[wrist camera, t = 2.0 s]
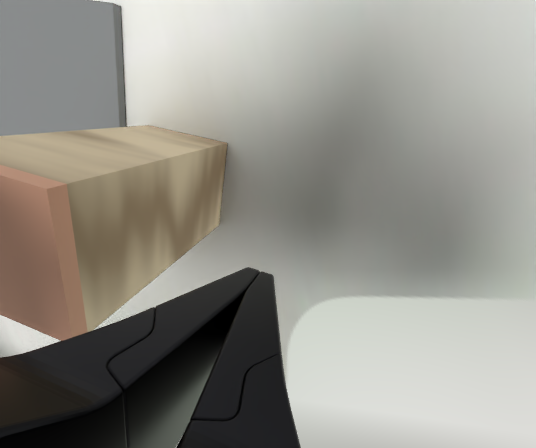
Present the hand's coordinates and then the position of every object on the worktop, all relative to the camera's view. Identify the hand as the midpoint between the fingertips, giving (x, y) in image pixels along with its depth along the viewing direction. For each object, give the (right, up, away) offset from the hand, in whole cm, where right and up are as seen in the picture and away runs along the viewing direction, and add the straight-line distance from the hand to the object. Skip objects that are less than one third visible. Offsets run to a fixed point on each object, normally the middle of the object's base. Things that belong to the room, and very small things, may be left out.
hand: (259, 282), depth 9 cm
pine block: (-5, +5, +8) cm, 10 cm away
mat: (-15, +7, +10) cm, 20 cm away
